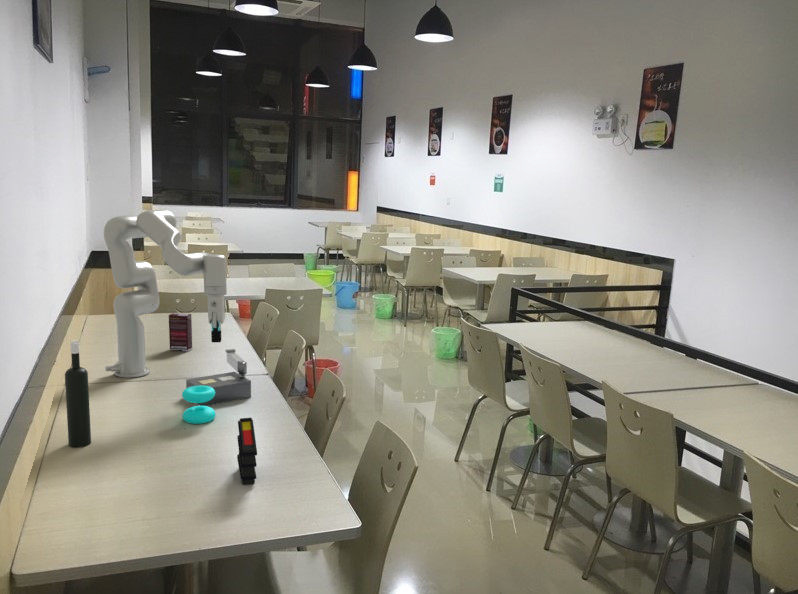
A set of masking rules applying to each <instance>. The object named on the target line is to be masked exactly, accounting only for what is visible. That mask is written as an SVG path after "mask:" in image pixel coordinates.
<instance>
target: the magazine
mask: <svg viewBox="0 0 798 594" xmlns="http://www.w3.org/2000/svg"><path fill="white" fill-rule="evenodd" d="M237 426H238V428H237V429H238V435H237V446H238V454H237V455H236V456H237V457H236V459H237V465H238V470H239V475H240V481H241V484H242V485H244V486H245V485H254V484H255V482H256V481H255V480H256V479H257V474H256V467H257V466H258V465H257V458H256V456H258V450H257V442H256V433H255V427H254V420H253V418H252V417H245V418H244V417H242V418H239V420H237Z"/></svg>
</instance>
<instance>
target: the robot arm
mask: <svg viewBox="0 0 798 594" xmlns="http://www.w3.org/2000/svg"><path fill="white" fill-rule="evenodd" d="M176 227H177V219H176V216H175V215H174V214H173V212H171V211H169V210H167V209H150V210H149V209H148V210H144V211H142V212H140V213H139V214H138V215H131V214H130V215H118V216H113V217H112V218H110V219H109V220H107V222H106V223H105V225H104V227H103V238H104V241H105V245H106V247H107V250H108V255H109V262H110V267H111V272H112V277H113V282H114V284H115V286H116V287H117V288H119V289H130V288H137V290H132V291H130V290H129V291H125V292H122V293H119V294H118V295H116V296H115V298H114V299H113V303H112V306H113V311H114V316H115V319H116V329H117V330H116V332H117V333H116V334H117V353H118V354H117V356H118V357H117V358H118V361H116V362H115V364H113V365H105V366H104V367H105V369H104V370H105V372H114V375H115V376H116V377H119V378H127V379H128V378H129V379H130V378H140V377H144V376H147V375H148V374H150V373H151V368H150V367H148V366H147V365H146V343H145V342H146V341H145V340H146V337H145V326H144V323H143V322H142V320H141V319H140V316H143V315H147V314H152V313H154V312H156V311H157V310H158V309H159V306H160V294H159V288H158V282H157V281H158V280H157V275H156V272H155V269H154V267H153V265H152V264H151V263H149V262H148V261H143V260H138V261H136V258H135V252H134V249H133V247H132V246H131V244H130V243H129V241H127V240H128V239H140V238H141V239H142V238H149V239H150V240H151V241H153V242H154V243H155V244H156V245H157V246H158V247H160V248H161V255H162V258H163V261H164V263H166V265H167V266H168V267H169V268H171V269H172V270H173V271H174V272H175V273H177V274H179V275H180V276H183V277H186V276H189V277H190V276H194V275H202V274H203V294H204V296H206V297H207V317H208V320H207V321H208V324H210V325H211V331H210V332H211V333H210V334H211V335H210V336H211V337H210V338H211V343H221V342H222V330H221V329H222V327H221V325H223V324H224V322H225V320H226V311H225V310H226V309H225V307H226V306H225V296H226V295H227V258H226V256H225V255H223V254H216V253H215V254H212V253H209V252H204V251H199V252H192V253H191V252H190V253H184V252H183V251H181V250H180V249H179V248H178V247H177V246H178V245H179V243H180V241H181V239H182V234H181V232H180V231H179V230H178V229H177V228H176Z"/></svg>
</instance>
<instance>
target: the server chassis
mask: <svg viewBox="0 0 798 594" xmlns="http://www.w3.org/2000/svg"><path fill="white" fill-rule="evenodd" d="M185 380H186V381H185V383H186V384H185V389H186V388H188V387H192V386H200V385H203V386H209V387H212V388H213V389H214V390H215V396H214V397H213V398H212V399H211V400H209V401H207V402H203V403H196V405H197V406H199V405H200V406H207V405H209V406H213V405H212V404H214V405H218V404H217V403H219V404H224V403H227V402H228V403H229V402H233V401H234V400H235V401H239V400H238V399H240V400H244V399H243V398H245V399H249V398H252V380H250V379H249V378H247V377H246V374H244V375H241V374H239V372H237V371H231V372H230V371H229V372H225V373H219V374H212V375H211V374H210V375H206V376H200V377H194V378H193V377H192V378H189V379H185ZM223 402H224V403H223Z"/></svg>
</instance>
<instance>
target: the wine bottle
mask: <svg viewBox="0 0 798 594" xmlns="http://www.w3.org/2000/svg"><path fill="white" fill-rule="evenodd" d="M69 341H70V342H69V343H70V344H69V345H70V354H71V355H70V356H71V367H70V368H68V369H67V370H66V371H65V373H64V383H65V385H64V386H65V402H66V403H65V404H66V419H67V420H66V423H67V439H68V440H67V441H68V447H70V448H74V449H75V448H83V447H87V446H89V445H90V444H91V443H92V433H91V430H92V429H91V413H90V412H91V411H90V392H89V373H88V371H87V369H86V368H84V367H81V363H80V362H81V361H80V359H81V358H80V341H79V340H76V339H74V340H69Z"/></svg>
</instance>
